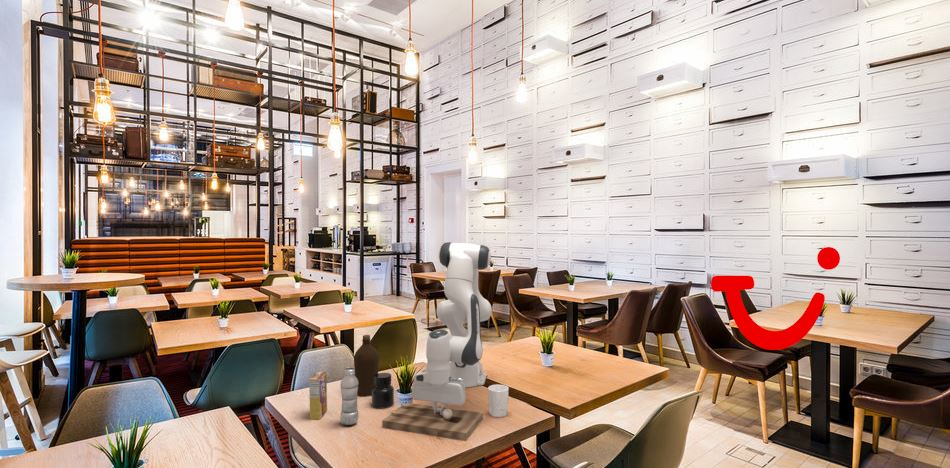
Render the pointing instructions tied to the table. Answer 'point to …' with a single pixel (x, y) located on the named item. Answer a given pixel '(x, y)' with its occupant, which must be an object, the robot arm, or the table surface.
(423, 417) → the board
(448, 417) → the ball
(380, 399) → the ink bottle
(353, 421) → the plastic bottle
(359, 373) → the olive oil
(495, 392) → the white cup
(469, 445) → the table surface
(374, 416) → the table surface
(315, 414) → the candy box
